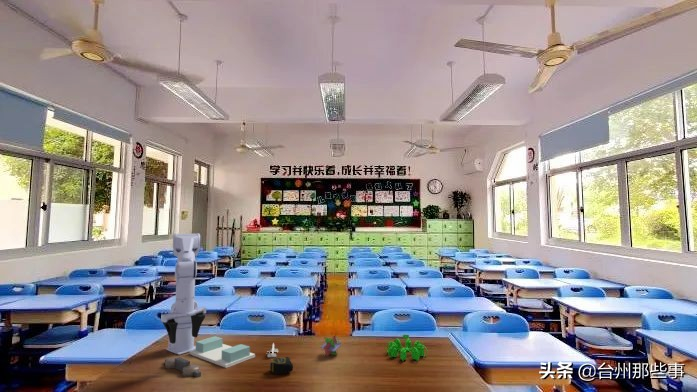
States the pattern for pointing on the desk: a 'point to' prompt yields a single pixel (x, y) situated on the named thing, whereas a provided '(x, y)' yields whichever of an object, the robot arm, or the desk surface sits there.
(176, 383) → the desk surface
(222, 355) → the stand
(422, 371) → the desk surface
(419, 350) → the green lumpy cluster
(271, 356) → the white tapered piece
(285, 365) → the tape measure
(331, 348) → the geometric puzzle
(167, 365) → the rod with two spheres
